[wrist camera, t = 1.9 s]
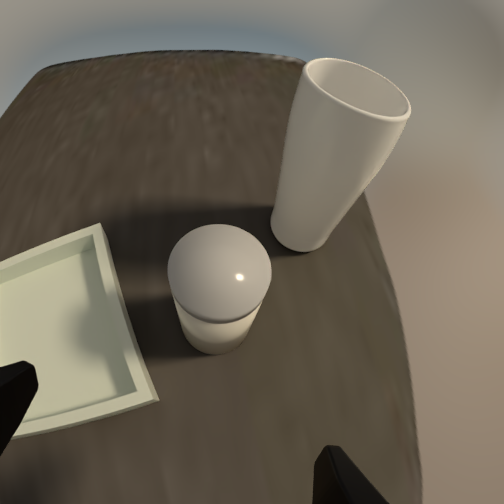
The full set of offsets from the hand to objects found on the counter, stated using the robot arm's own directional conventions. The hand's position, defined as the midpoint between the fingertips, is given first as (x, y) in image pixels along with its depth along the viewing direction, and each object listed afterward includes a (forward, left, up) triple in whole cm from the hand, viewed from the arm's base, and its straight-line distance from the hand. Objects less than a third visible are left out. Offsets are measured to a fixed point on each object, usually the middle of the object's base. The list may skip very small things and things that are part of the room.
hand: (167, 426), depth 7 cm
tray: (-9, +9, -13) cm, 18 cm away
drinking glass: (+14, +11, -14) cm, 23 cm away
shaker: (+4, +6, -13) cm, 15 cm away
